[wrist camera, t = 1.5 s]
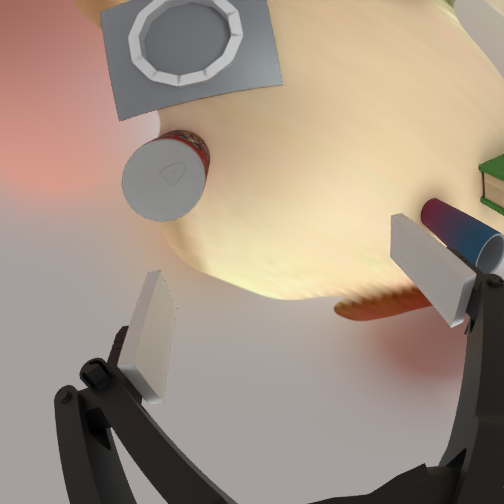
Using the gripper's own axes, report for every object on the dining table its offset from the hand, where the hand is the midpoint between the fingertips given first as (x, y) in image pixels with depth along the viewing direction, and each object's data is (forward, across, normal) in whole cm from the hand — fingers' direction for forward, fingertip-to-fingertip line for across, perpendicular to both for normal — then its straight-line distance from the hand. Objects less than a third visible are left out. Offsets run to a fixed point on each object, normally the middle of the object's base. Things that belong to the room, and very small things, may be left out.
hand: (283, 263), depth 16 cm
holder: (+23, -3, +18) cm, 30 cm away
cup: (+23, +28, -12) cm, 39 cm away
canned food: (+23, -8, +4) cm, 25 cm away
